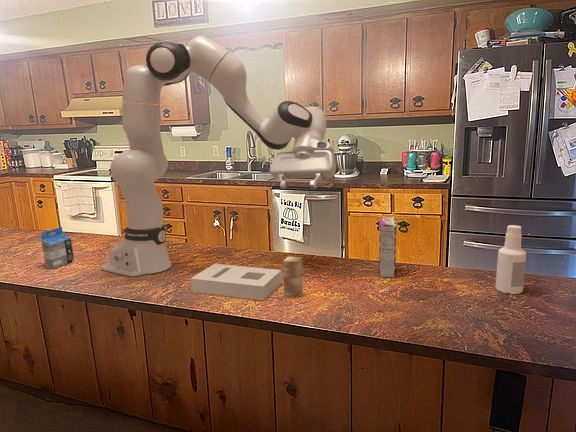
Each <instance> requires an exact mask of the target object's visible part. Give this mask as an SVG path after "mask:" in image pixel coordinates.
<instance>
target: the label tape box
mask: <svg viewBox="0 0 576 432" xmlns="http://www.w3.org/2000/svg"><path fill="white" fill-rule="evenodd" d="M52 233H54V234H52ZM50 234H51V235H50ZM40 236H41V238H40V239H41V246H42V252H43V258H44V264H45V269H49V270H50V269H51V270H52V269H53V270H55V269H58V268H60V267H62V266H65V265H67V264H70V263H73V262H75V257H74V250H73V242H72V238H71V237H69V236H67V235H66V234H64V233H63V226H60V227H57V228H53V229H50V230H45V231H43V232H40Z"/></svg>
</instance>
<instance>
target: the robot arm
mask: <svg viewBox="0 0 576 432" xmlns="http://www.w3.org/2000/svg"><path fill="white" fill-rule="evenodd" d="M145 63H146V64H145V65H142V64H139V65H134V66H133V65H132V66H131V67H129V68H128V69H127V70H126V71H125V75H124V80H123V85H122V97H121V99H122V100H121V101H122V103H121V104H122V106H121V107H122V109H121V110H122V113H121V115H122V117H121V118H122V120H121V123H122V125H121V126H122V129H123V132H124V133H125V134H126V137H127V141H128V145H129V146H128V147H129V150H128V149H127V150H125V151H122V152H121V153H119V154H117V155H116V156H115V157H114V158H113V159H112V160H111V163H110V167H109V171H110V174H111V176H112V179H113V180H114V181H115V182H116V183H117V184H118V186H119V188H120V190H121V195H122V197H123V199H124V204H125V209H126V218H127V219H126V220H127V227H126V228H124V229H123V228H122V229H120V231H121V234H124V238H123V239H122V240H121V241H119V242H118V243H117V244H116V245H114V247H112V248H111V249H110V251H109V254H108V255H109V256H108V262H106V263H104V264H103V265H102V267H101V270H102V271H104V272H109V273H115V274H118V275H123V276H126V277H127V276H128V277H137V276H142V275H148V274H149V275H151V274H157V273H161V272H163V271H164V272H165V271H166V270H168V269H170V268H171V267H172V262H171V260H170V256H169V253H168V249H167V242H166V239H167V238H166V237H167V235H166V234H167V233H166V225H165V223H164V216H163V215H164V214H163V213H164V212H163V211H164V210H163V202H162V200H161V197H159V195H158V193H157V189H156V187H155V186H156V185H155V183H154V182H155V181H157V180H158V179H161V177H163V176H164V174H165V173H166V171H167V170H168V166H169V163H168V158H167V156H166V155H165V152H164V147H163V140H162V135H161V134H162V133H161V92H162V88H163V87H167V86H170V85H176V84H178V83H179V84H180V83H181V82H184V81H185V80H186V79H187V78H188V76H190V75H189V74H190V73H192V74H193V73H194V74H196V75H199V76H200V77H201V78H203V79H204V80H205V81H206V82H208V83H209V84H211V85H212V86H213V87H214V88H215V89H216V90H217V91H218V92H219V94H220V95H221V96H222V98H223V101H224V102H225V104H226V105H227V106H228V108H229V109H230V110H231V111H232V112H234V114H235V115H237V117H239V119H241V120H242V122H244V123H245V124H246V125H247V126H248V127H249V128H250V129H251V130H252V131H253V132H254V133H255V134H256V135H257V136H258V138H259V139H260V141H261V142H262V143H263V144H264V145H265V146H266V147H268V148H269V149H272V150H275V151H277V150H278V151H279V150H283V149H285V148H286V147H288V144H290V143H291V140H292V139H293V138H294V142H293V146H292V150H291V151H280V152H278V153H277V154H275V155H274V157H273V160H272V162H271V164H270V167H269V173H270V174H271V176H272V178H274V179H279V180H280V184H279V187H280V189H281V190H282V189H284V190H285V189H287V187H288V184H287V182H286V179H305V178H306V179H307V178H308V179H311V178H312V179H313V178H314V179H313V180H310V183H309V187H310V189H317V186H318V184H319V183H320V182H322V180H323V178H325V179H326V178H327V179H328V178H329V179H330V178H333V177H334V176H335V175H336V170H337V169H336V167H337V165H336V163H337V162H336V154H335V151H334V148H333V146H332V144H331V143H330V142H327V141H323V140H324V139H325V135H326V130H327V117H326V114H325V112H324V111H323V110H322V109H321V108H320V107H317V106H313V105H310V106H307V107H306V106H303V105H302V104H299V103H298V102H295V101H292V100H285V101H282V102H280V103H279V105H278V106H277V107H276V109H275V110H274V111H273V112H272V114H271V115H270V117H269V118H268V117H266V116H265V115H264V114H263V113H262V112H261V111H260V110H259V109H258V108H257V107H256V106H254V104H252V102H251V101H250V100H249V97H248V95H247V79H248V77H247V71H246V67H245V64H244V63H243V62H242V61H241V60H240V59H239V58H238V57H237V56H236V55H234V54H233V53H232V52H230V51H229V50H228V49H226V48H225V47H223V46H222V45H221V44H220V43H217V42H216V41H214V40H212V39H210V38H209V37H207V36H204V35H198V36H195V37H193V38H192V39H191V40H190V41H189V42H188V43H187V44H186V45H184V44H182V43H175V42H168V41H160V42H156V43H154V44H153V45H151V46H150V48H148V50H147V53H146V55H145Z"/></svg>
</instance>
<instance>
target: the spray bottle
mask: <svg viewBox="0 0 576 432" xmlns="http://www.w3.org/2000/svg"><path fill="white" fill-rule="evenodd" d="M522 237H523V235H522V226H521V225H516V224H509V225H507V227H506V233H505V237H504V239H505V241H504V245H503V247H500V248H499V249H498V251H497V261H496V262H497V264H496V276H495V286H494V287H495V289H496V290H497V291H498V292H500V291H501V292H500V293H503V294H507V293H510V294H509V295H519V294H521V292H522V293H523V290H524V282H525V271H526V270H525V269H526V258H527V252H526V251H525V250H524V249H523V248H522Z"/></svg>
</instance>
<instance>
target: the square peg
mask: <svg viewBox="0 0 576 432" xmlns="http://www.w3.org/2000/svg"><path fill="white" fill-rule="evenodd" d="M302 293H303V257H299V256H287V257H286V258H285V259H283V296H285V297H291V298H299V297H300V296H301V295H302Z"/></svg>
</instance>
